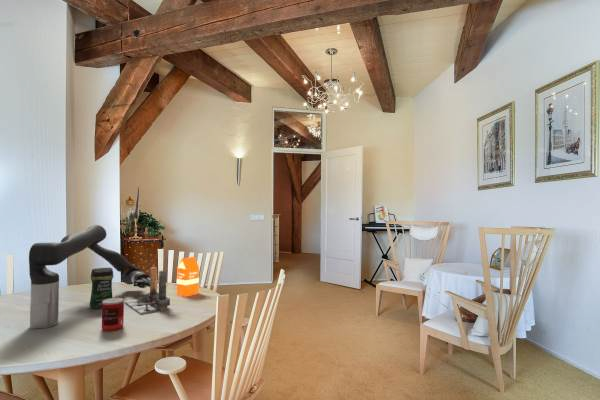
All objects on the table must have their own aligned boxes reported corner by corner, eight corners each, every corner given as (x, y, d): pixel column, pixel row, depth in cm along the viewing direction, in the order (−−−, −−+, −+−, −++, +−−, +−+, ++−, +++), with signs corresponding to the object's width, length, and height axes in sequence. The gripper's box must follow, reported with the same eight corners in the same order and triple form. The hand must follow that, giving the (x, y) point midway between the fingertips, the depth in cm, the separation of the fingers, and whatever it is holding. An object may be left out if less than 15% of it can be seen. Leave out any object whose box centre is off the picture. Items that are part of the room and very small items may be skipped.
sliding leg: (160, 301, 171) (160, 267, 171) (138, 305, 164) (139, 270, 165) (156, 299, 175) (157, 266, 175) (135, 302, 168) (135, 268, 168)
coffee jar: (90, 310, 159) (91, 270, 160) (88, 306, 165) (89, 267, 166) (114, 306, 165) (114, 268, 166) (111, 303, 171) (112, 265, 172)
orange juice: (198, 293, 192) (199, 257, 192) (185, 296, 185) (185, 259, 185) (189, 291, 196) (190, 256, 197) (176, 294, 189) (176, 257, 189)
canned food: (118, 323, 142) (118, 296, 142) (127, 327, 137) (127, 300, 137) (98, 328, 136) (98, 300, 136) (106, 333, 131) (106, 304, 131)
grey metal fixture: (169, 308, 162) (170, 271, 163) (140, 314, 153) (141, 274, 154) (151, 298, 181) (151, 264, 181) (124, 302, 172) (124, 267, 172)
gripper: (127, 274, 181) (138, 279, 168) (153, 271, 190) (165, 275, 177) (127, 288, 181) (138, 294, 168) (153, 284, 190) (165, 290, 177)
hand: (152, 284), depth 173 cm, fingers closed
